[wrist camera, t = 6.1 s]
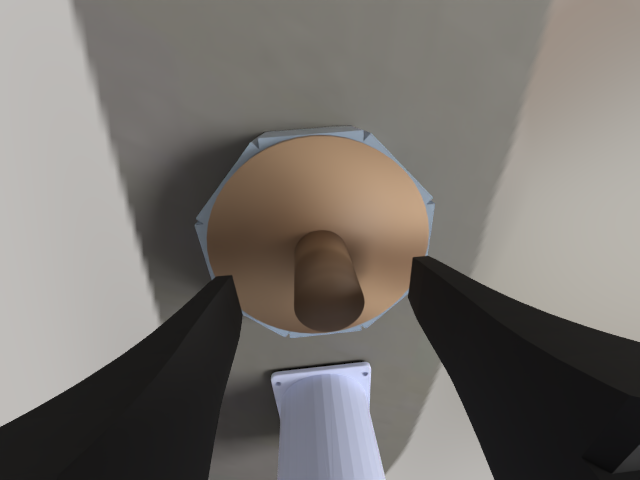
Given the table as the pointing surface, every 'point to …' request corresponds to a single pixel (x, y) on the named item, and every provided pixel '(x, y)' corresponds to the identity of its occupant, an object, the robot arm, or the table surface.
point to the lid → (317, 233)
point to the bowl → (278, 136)
